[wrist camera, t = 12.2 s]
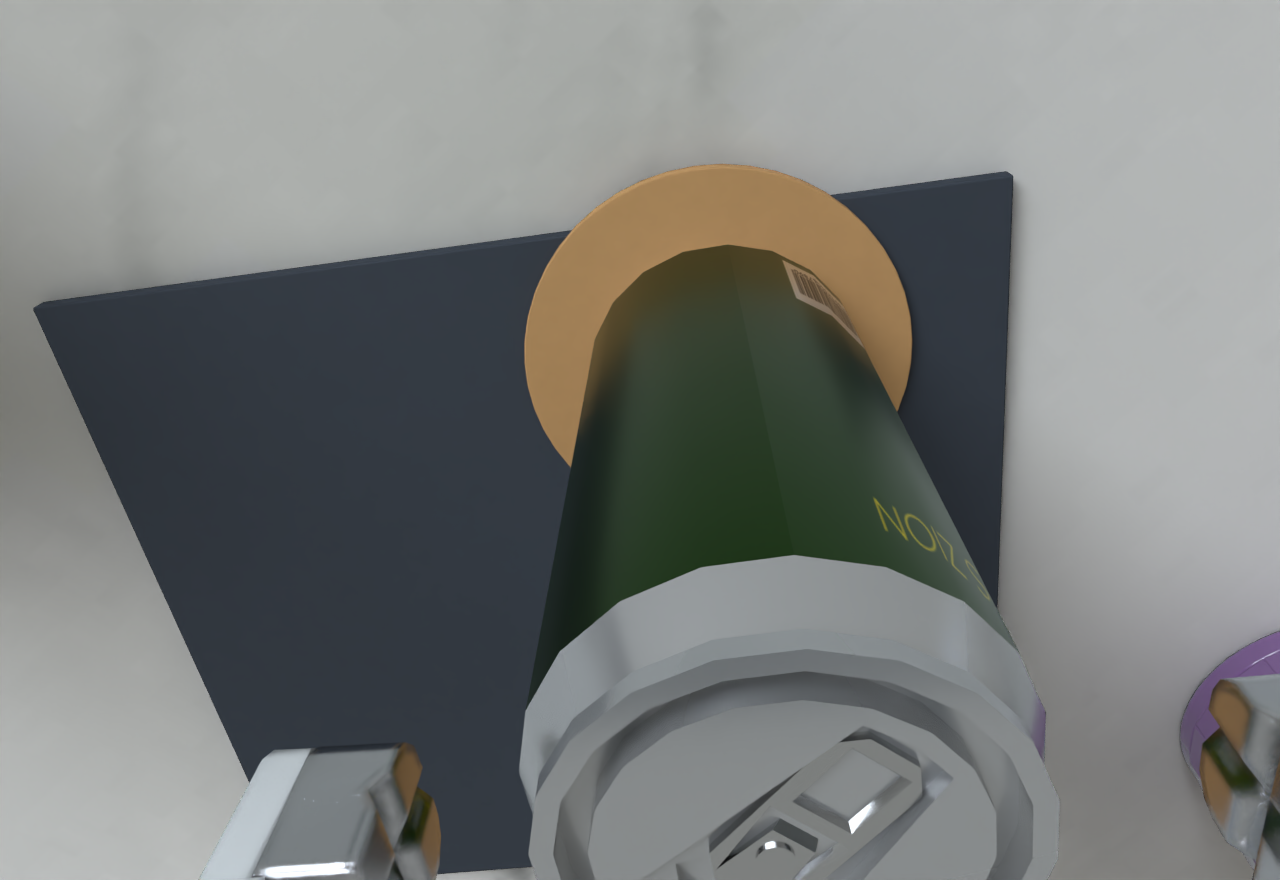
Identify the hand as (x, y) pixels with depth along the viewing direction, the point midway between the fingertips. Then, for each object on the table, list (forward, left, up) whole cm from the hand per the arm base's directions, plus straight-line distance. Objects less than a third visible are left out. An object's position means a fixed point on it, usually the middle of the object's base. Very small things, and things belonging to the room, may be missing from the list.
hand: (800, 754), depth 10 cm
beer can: (0, 0, -11) cm, 11 cm away
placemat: (+4, +6, -12) cm, 14 cm away
